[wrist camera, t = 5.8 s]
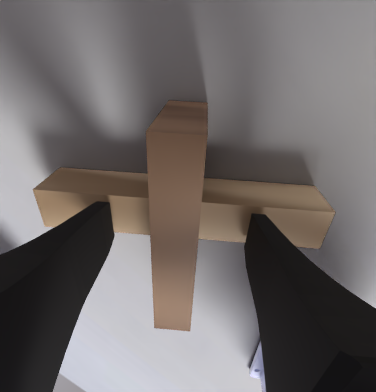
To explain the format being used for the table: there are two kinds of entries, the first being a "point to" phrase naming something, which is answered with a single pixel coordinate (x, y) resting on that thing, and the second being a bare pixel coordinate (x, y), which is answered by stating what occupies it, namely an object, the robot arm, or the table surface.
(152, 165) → the tall wooden block
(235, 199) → the oak rail
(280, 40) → the table surface
